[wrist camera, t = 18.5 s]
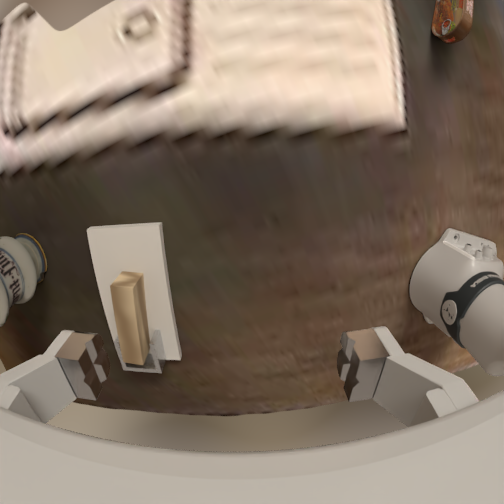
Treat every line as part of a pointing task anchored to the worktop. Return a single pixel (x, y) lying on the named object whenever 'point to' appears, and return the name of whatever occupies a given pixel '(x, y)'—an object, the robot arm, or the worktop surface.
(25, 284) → the apothecary jar
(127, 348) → the rail
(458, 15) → the tin
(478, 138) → the worktop surface
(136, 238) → the bracket
